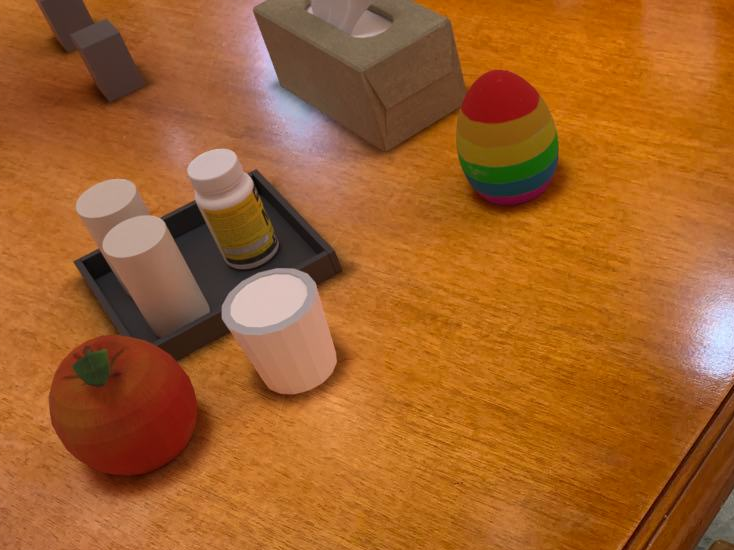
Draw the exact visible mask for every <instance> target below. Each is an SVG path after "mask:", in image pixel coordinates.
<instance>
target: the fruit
mask: <svg viewBox="0 0 734 550" xmlns="http://www.w3.org/2000/svg"><path fill="white" fill-rule="evenodd" d="M48 408H49V409H48V410H49V415H50V422H51V426H52V428H53V430H54V431H55V434H56V435H57V437H58V439H59V441H60V442H61V443H62V445H63V446H64V448H65V450H66V451H67V452H68V453H70V455H72V456H73V457H74V458H75V459H76V460H77V461H78V462H81V463H83V464H85V465H86V466H88V467H90V468H91V469H94V470H96V471H99V472H101V473H103V474H107V475H108V474H109V475H118V476H127V477H132V476H138V475H145V474H147V473H150V472H153V471H155V470H159V469H161V468H162V467H163V466H165V465H166V464H168V463H170V462H172V461H173V460H175V459H176V457H178V456H179V455H180V454H181V453H182V452H183V451H184V450H185V448H186V446H187V445H188V444H189V442H190V441H191V438H192V436H193V433H194V431H195V427H196V423H197V420H198V402H197V395H196V392H195V388H194V386H193V384H192V380H191V378H190V376H189V375H188V373H186V371H185V370H184V369H183V367H182V366H181V365H180V364H179V363H178V361H175V359H174V358H173V357H172V356H171V355H170V354H168V353H167V352H165V351H164V350H162V349H160V348H159V347H157V346H155V345H153V344H151V343H149V342H147V341H145V340H141V339H136V338H132V337H127V336H122V335H120V334H109V335H108V334H107V335H100V336H96V337H93V338H90V339H87V340H86V341H84V342H82V343H81V344H79V345H78V346H76V347H74V348H73V349H72V350H71V351H70V352H69V353H68V354H67V355H66V356H65V357H64V358H63V359H62V360H61V362H60V364H59V366H58V367H57V369H56V371H55V372H54V375H53V379H52V382H51V385H50V389H49V393H48Z"/></svg>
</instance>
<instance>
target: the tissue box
mask: <svg viewBox="0 0 734 550" xmlns="http://www.w3.org/2000/svg"><path fill="white" fill-rule="evenodd" d="M252 12H253V15H254V18H255V21H256V23H257V26H258V29H259V31H260V35H261V37H262V40H263V43H264V45H265V47H266V50H267V53H268V55H269V59H270V61H271V64H272V66H273V69H274V72H275V74H276V77H277V79H278V83H279V85H280V87H281V88H283V89H284V90H286V91H288V92H289V93H291V94H293V95H294V96H296V97H297V98H299V99H300V100H301V101H303V102H305V103H307V104H308V105H309V106H311V107H312V108H315V110H318V111H319V112H321V113H322V114H324V115H325V116H327V117H329V119H331V120H333V121H335V122H337V123H338V124H340V125H341V126H343V127H344V128H346V129H348V130H349V131H350V132H352V133H353V134H355V135H356V136H358V137H360V138H362V139H363V140H365V141H366V142H367V143H369V144H371V145H372V146H374V147H375V148H377V149H379V150H380V151H382V152H384V153H385V152H389V151H390V150H392V149H393V148H395V147H396V146H398V145H400V144H402V143H403V142H405V141H406V140H408V139H410V138H411V137H413V136H414V135H416V134H418V133H420V132H421V131H423V130H425V129H426V128H428V127H429V126H431V125H433V124H434V123H436V122H438V121H439V120H441V119H443V118H444V117H446V116H447V115H449V114H451V113H453V112H454V111H456V110H457V109H459V108H460V107H461V104H462V102H463V99H464V97H465V95H466V94H467V92H468V91H467V88H466V83H465V78H464V74H463V70H462V65H461V61H460V56H459V51H458V47H457V42H456V38H455V34H454V29H453V24H452V19H450V18H448V17H446V16H444V15H442V14H440V13H438V12H436V11H434V10H432V9H429V8H428V7H426V6H423V5H421V4H419V3H417V2H415V1H413V0H264V1H261V2H260V3H259V4H256V5H255V6H253V8H252Z"/></svg>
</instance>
